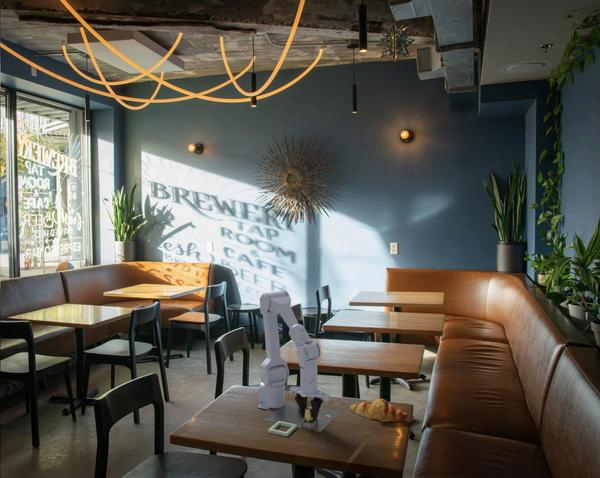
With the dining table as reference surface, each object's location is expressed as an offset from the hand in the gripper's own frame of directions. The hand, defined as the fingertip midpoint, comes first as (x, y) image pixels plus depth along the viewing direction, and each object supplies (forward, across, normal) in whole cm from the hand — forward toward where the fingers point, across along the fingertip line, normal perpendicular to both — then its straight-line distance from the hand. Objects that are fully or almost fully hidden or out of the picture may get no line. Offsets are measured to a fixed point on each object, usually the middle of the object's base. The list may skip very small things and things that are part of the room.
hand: (309, 417), depth 168 cm
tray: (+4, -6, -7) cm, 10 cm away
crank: (+3, -4, +5) cm, 7 cm away
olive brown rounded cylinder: (+3, 0, 0) cm, 3 cm away
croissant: (+4, +16, +20) cm, 26 cm away
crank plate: (+4, -6, +6) cm, 9 cm away
